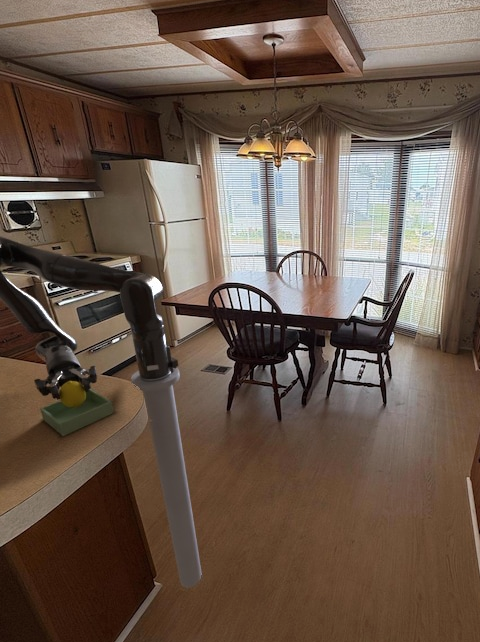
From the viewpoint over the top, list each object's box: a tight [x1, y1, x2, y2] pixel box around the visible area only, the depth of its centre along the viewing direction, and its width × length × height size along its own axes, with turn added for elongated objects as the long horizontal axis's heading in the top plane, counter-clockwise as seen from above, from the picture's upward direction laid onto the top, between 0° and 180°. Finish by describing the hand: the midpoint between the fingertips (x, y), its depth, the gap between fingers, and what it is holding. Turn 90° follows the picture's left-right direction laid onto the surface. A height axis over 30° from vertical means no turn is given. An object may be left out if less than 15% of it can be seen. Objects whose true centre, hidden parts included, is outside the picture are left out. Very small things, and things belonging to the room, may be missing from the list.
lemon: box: [59, 381, 86, 408], centre depth 89 cm, size 6×6×8 cm
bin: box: [39, 388, 115, 437], centre depth 91 cm, size 12×11×4 cm
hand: (72, 392), depth 86 cm, fingers closed on lemon, 5 cm apart
